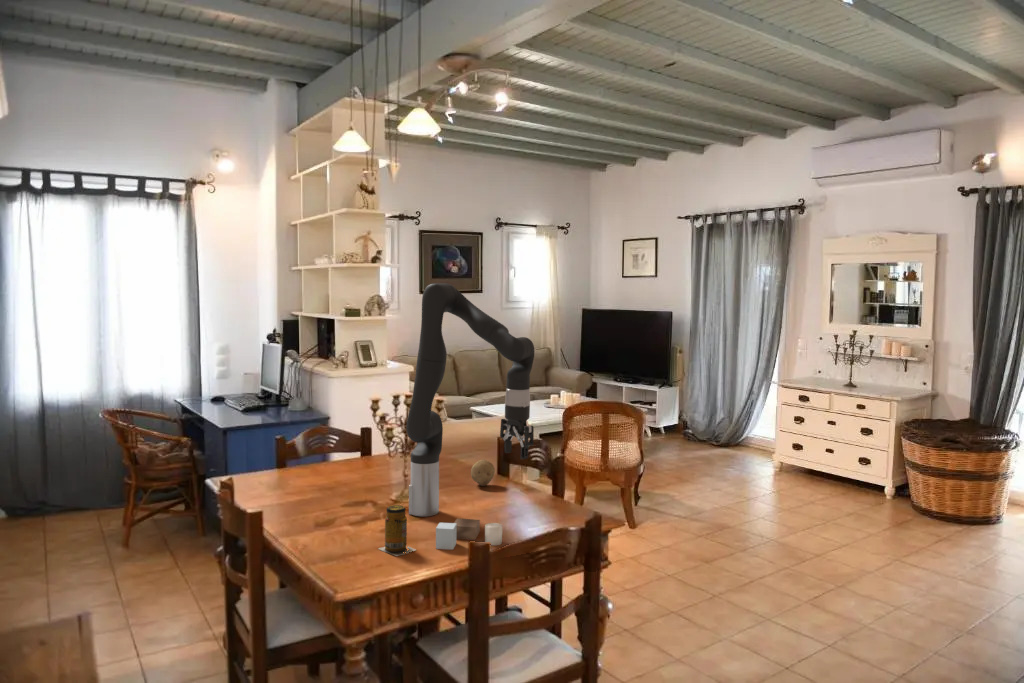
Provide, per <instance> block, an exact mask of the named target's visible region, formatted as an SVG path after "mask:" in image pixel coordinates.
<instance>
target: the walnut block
mask: <svg viewBox="0 0 1024 683" xmlns="http://www.w3.org/2000/svg"><path fill="white" fill-rule="evenodd" d="M480 522H481V520H480V519H475V518H456V519H455V520H454V522H453V523H457V530H456V540H457V539H458V540H470V541H471V540H472V541H473V540H476V539H477V537H478V535H479V534H480V526H481V525H480Z"/></svg>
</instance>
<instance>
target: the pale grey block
mask: <svg viewBox="0 0 1024 683" xmlns="http://www.w3.org/2000/svg"><path fill="white" fill-rule="evenodd" d="M456 530H457V523H454V522H438V524H437V526H436V527H435V549H436V550H454V549H455V547H456V545H457V539H456Z"/></svg>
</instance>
